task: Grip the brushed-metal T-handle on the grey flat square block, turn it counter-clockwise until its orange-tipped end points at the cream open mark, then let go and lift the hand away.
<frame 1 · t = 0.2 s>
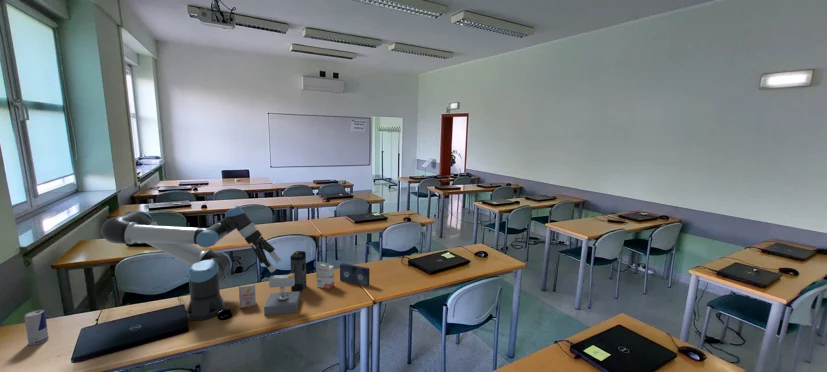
hand: (276, 266, 172), 16 cm above the table, tool tilted 35°, fingers open, 13 cm apart
ink cartridge box: (325, 286, 186), on the table
tea bag: (248, 305, 163), on the table
electronic device: (299, 289, 182), on the table
energy drink: (38, 341, 131), on the table
vhs cassette tape: (354, 283, 191), on the table
t key: (282, 286, 161), point 10 cm above the table, hinge at 0.0°
grey flat square block: (283, 306, 162), on the table
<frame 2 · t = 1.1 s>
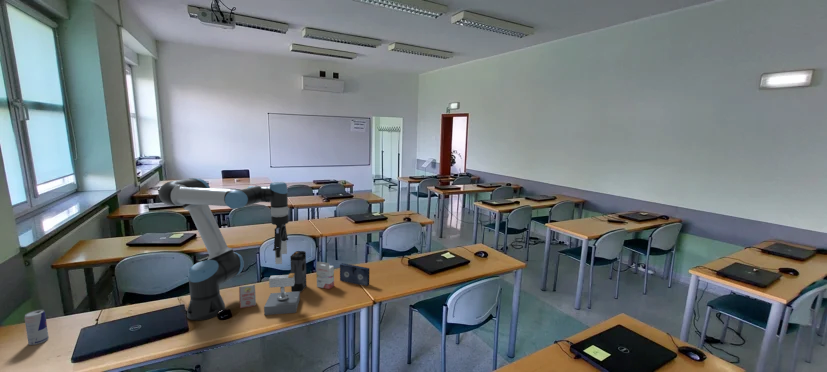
hand: (281, 258, 159), 24 cm above the table, tool pointing down, fingers open, 13 cm apart
nothing on the table moved.
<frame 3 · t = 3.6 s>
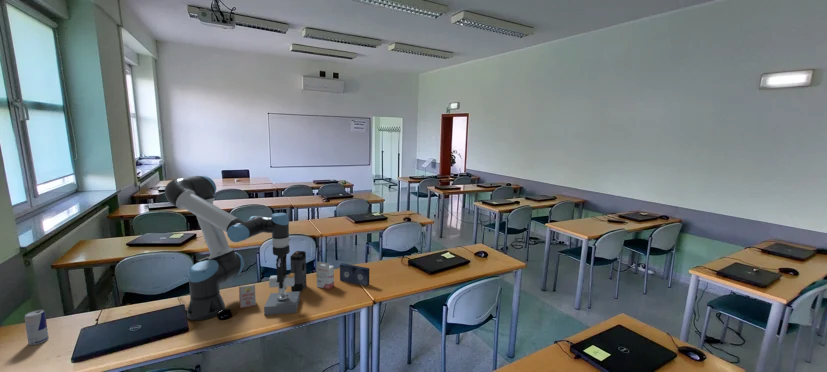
hand: (282, 291, 161), 8 cm above the table, tool pointing down, fingers closed on t key, 4 cm apart
t key: (282, 286, 161), point 10 cm above the table, hinge at 0.0°, touching gripper
everything else where it was.
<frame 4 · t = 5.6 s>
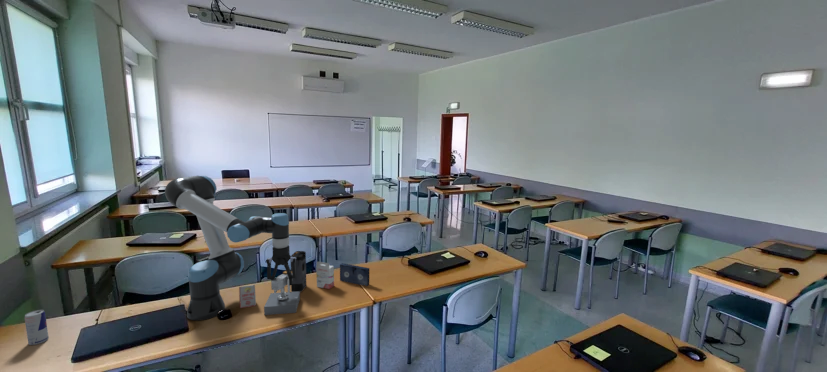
hand: (282, 291, 161), 8 cm above the table, tool pointing down, fingers closed on t key, 5 cm apart
t key: (282, 286, 161), point 10 cm above the table, hinge at 63.2°, touching gripper
everything else where it was.
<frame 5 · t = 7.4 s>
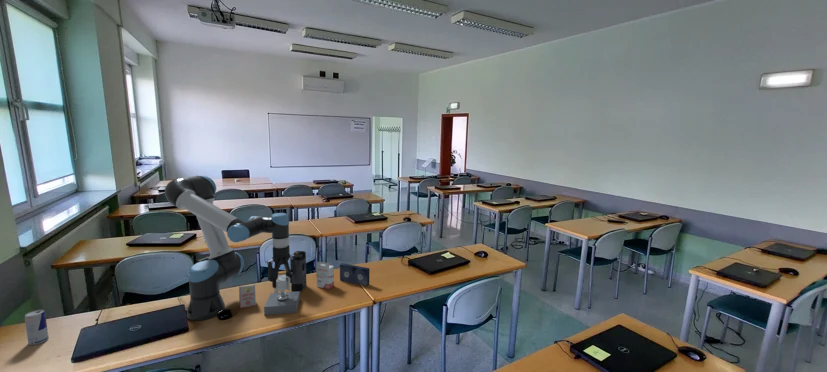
hand: (282, 291, 162), 8 cm above the table, tool pointing down, fingers closed on t key, 5 cm apart
t key: (282, 286, 161), point 10 cm above the table, hinge at 101.2°, touching gripper
everything else where it was.
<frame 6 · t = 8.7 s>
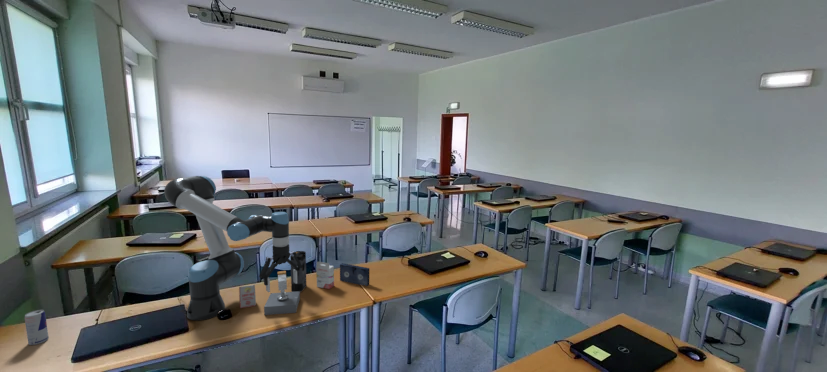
hand: (282, 286, 161), 10 cm above the table, tool pointing down, fingers open, 13 cm apart
t key: (282, 286, 161), point 10 cm above the table, hinge at 102.0°
everything else where it was.
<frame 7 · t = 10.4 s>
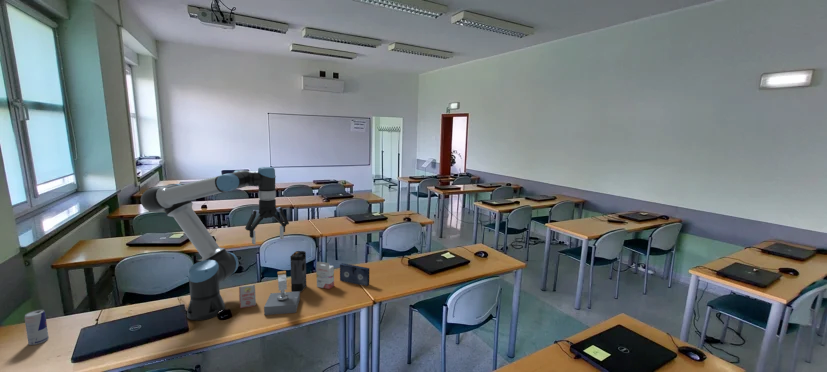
hand: (268, 241, 164), 31 cm above the table, tool pointing down, fingers open, 13 cm apart
nothing on the table moved.
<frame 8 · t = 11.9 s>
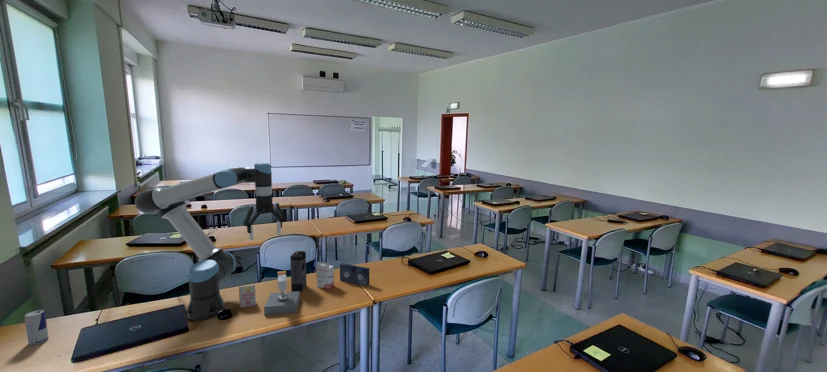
hand: (265, 236, 166), 33 cm above the table, tool pointing down, fingers open, 13 cm apart
nothing on the table moved.
at the end: t key at +102° (first picture: +0°); the gripper is holding nothing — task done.
